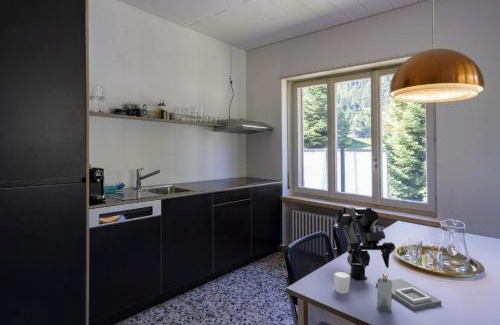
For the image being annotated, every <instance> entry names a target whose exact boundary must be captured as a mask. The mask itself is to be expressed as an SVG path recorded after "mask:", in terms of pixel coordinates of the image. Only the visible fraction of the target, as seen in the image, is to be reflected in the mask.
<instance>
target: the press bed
mask: <svg viewBox="0 0 500 325" xmlns="http://www.w3.org/2000/svg"><path fill="white" fill-rule="evenodd" d="M390 280H391V281H392V299H393V298H394V299H395V300H396V301H398V302H400V303H401V304H403V305H404V306H406V307H408V308H409V309H410V310H412V311H417V310H423V309H427V308H431V307H432V308H433V307H436V306H441V305H442V300H441V299H439V298H437V297H435V296H433V295H431V294H429V293H428V292H425V291H424V290H422V289H421V288H420V287H419V288H418V287H417V286H415V285H413V284H411V283H410V282H408V281H406V280H404V279H403V278H397V279H390ZM375 287H376V288H378V281H377V282H375Z"/></svg>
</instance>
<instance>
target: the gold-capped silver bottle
mask: <svg viewBox="0 0 500 325" xmlns="http://www.w3.org/2000/svg"><path fill="white" fill-rule="evenodd" d="M391 280H392V279H388V274H387V273H383V274H382V277H380V278H377V282H378V287H377V290H376V291H377V292H376V293H377V294H376V297H377V298H376V300H377V301H376V310H378V311H379V312H382V313H385V314H389V313H391V312H392V306H393V305H392V303H393V302H392V301H393V300H392V299H393V297H392V281H391Z"/></svg>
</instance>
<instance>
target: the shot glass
mask: <svg viewBox="0 0 500 325" xmlns="http://www.w3.org/2000/svg"><path fill="white" fill-rule="evenodd" d="M348 273H349V272H345V271H335V272H334V273H333V280H334V290H335V291H336V293H338V294H342V295H343V294H348V293H349V292H350V283H351V278H352V277H351V276H350V275H349V274H348Z"/></svg>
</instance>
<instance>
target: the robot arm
mask: <svg viewBox="0 0 500 325" xmlns="http://www.w3.org/2000/svg"><path fill="white" fill-rule="evenodd" d="M334 220H335V223H336V225H337V226H338V228H340V229H341V230H342V231H343V233H344V236H345V238H346V241H347V243H348V246H347V247H346V250H347V254H348V256H347V257H346V258H347V264H348V265H349V266H350V273H349V272H347V273H348V274H349V275H350V276H351V277H350V278H351V279H353V280H355V281H360V280H361V281H362V280H367V279H368V277H367V276H366V268H367V267H369V265H370V261H371V256H370V253H369V251H380V252H381V257H382V260H383V263H384V265H385V267H386V269H388V268H389V265H390V254H392V253H393V252H394V250H396V245H395V243H394V242H390V241H384V242H383V243H382V245H380V241H381V242H382V240H385V239H386V233H385V232H384V230H378V231H377V232H374V231H373V228H374V226H375V224H376V223H377V222H378V220H379V214H378V213H377V212H376V211H375V210H374V209H372V207H353V206H351V205H343V206H342V207H341V209H340V210H338V211H337V212H336V214H335V219H334ZM353 221H357V223H356V229H358V234H359V239H358V237H357V235H356V233H355V231H354V228H353V226H352V225H353ZM359 240H360V241H361V244H360V242H359Z"/></svg>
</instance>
